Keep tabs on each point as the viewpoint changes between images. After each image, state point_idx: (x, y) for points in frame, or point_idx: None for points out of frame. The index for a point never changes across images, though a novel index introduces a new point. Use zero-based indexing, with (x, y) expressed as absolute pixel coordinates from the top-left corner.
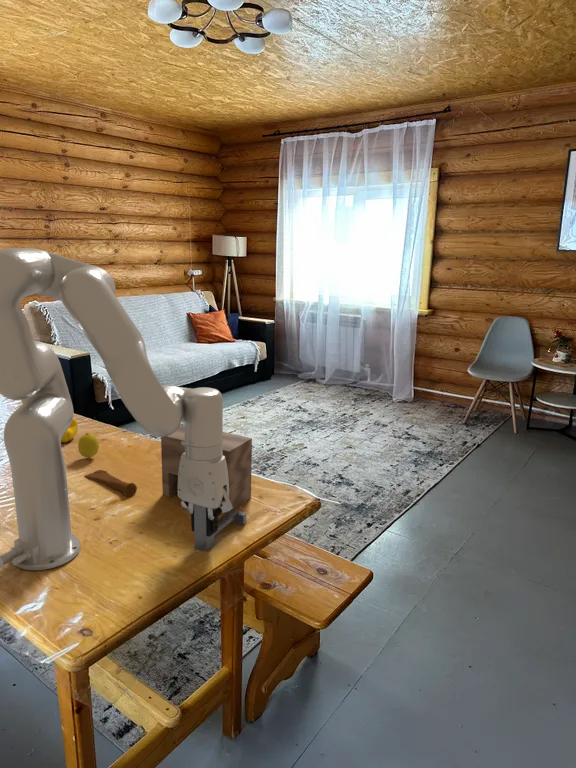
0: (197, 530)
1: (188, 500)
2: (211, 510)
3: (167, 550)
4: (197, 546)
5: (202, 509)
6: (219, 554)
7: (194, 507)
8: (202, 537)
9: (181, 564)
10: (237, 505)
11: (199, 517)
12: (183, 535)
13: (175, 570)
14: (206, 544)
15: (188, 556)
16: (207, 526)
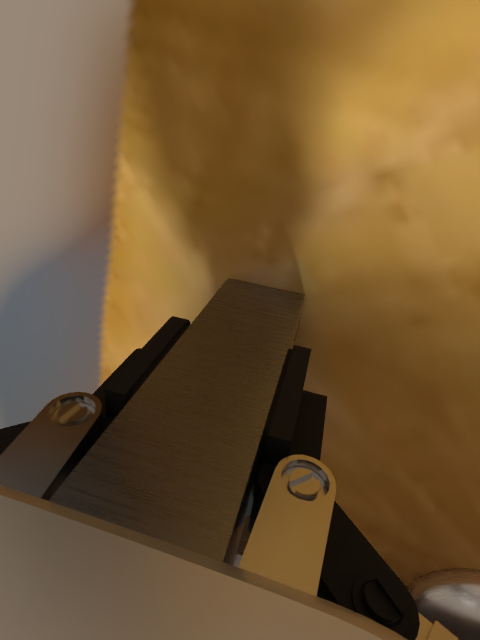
0: (259, 348)
1: (232, 613)
2: (6, 463)
3: (462, 219)
4: (283, 296)
5: (121, 480)
6: (159, 276)
7: (232, 511)
8: (230, 319)
9: (299, 104)
10: None
11: (201, 415)
12: (420, 385)
13: (305, 15)
14: (213, 296)
15: (298, 205)
16: (145, 355)
